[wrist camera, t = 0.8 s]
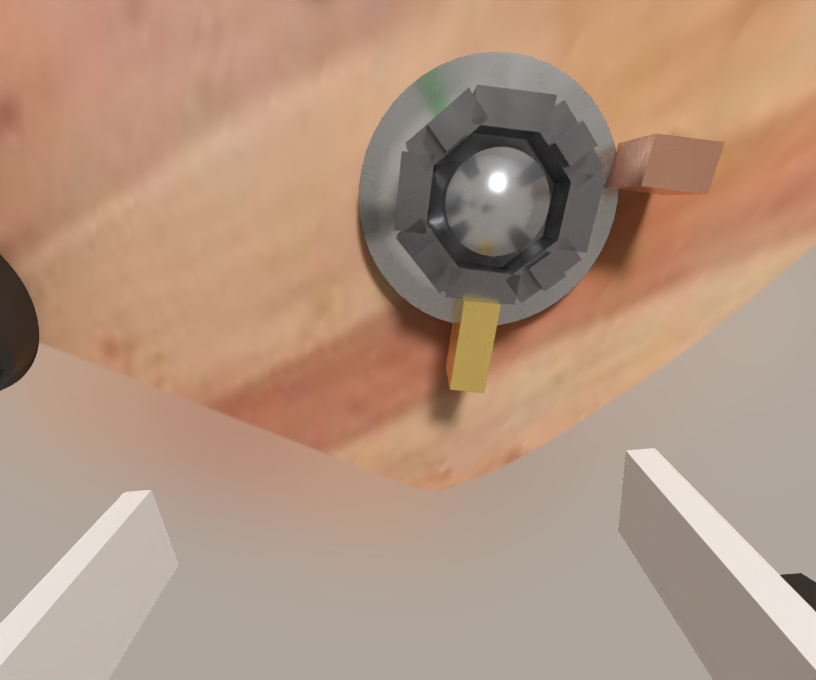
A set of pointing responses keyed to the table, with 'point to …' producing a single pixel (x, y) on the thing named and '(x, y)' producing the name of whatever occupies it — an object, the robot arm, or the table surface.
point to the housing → (506, 180)
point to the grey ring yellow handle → (539, 263)
